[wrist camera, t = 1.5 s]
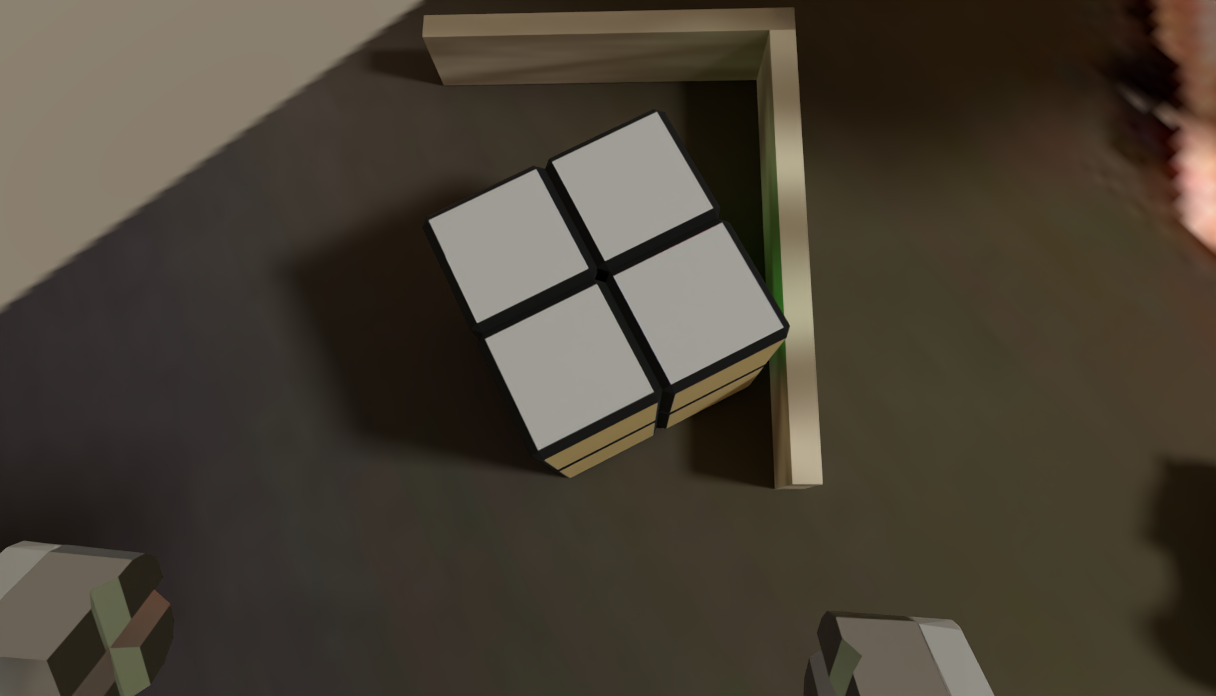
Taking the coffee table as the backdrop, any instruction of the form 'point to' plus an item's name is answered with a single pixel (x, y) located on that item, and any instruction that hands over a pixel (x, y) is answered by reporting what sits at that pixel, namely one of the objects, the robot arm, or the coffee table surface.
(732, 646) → the coffee table surface
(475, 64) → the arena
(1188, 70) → the coffee table surface
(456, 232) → the puzzle cube
